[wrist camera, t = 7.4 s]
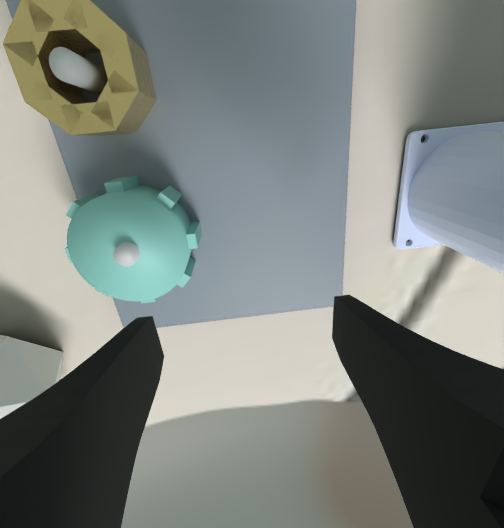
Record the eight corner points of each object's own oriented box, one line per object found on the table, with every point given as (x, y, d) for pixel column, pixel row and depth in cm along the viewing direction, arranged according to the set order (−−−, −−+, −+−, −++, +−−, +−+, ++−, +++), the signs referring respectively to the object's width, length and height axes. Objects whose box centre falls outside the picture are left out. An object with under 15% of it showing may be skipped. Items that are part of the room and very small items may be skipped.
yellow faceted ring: (139, 18, 14) (115, -15, 11) (162, 129, 16) (147, 127, 13) (38, 27, 14) (-15, -4, 11) (74, 138, 16) (38, 138, 13)
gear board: (350, -31, 14) (402, -108, 10) (337, 298, 22) (362, 336, 18) (13, 0, 14) (-88, -65, 9) (126, 323, 22) (101, 369, 18)
